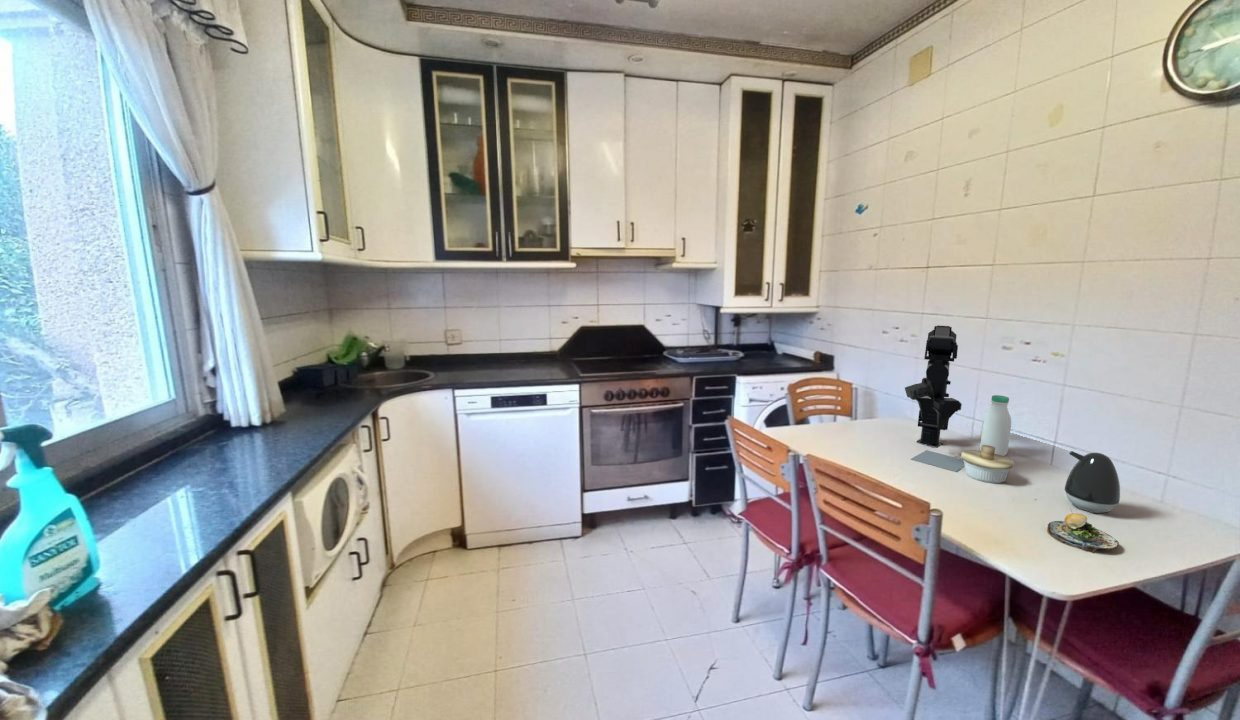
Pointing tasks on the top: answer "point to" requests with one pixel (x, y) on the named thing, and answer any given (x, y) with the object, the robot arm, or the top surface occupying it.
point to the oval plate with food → (1080, 534)
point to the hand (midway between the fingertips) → (931, 423)
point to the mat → (940, 460)
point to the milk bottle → (996, 426)
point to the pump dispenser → (1093, 483)
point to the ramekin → (985, 473)
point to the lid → (987, 458)
